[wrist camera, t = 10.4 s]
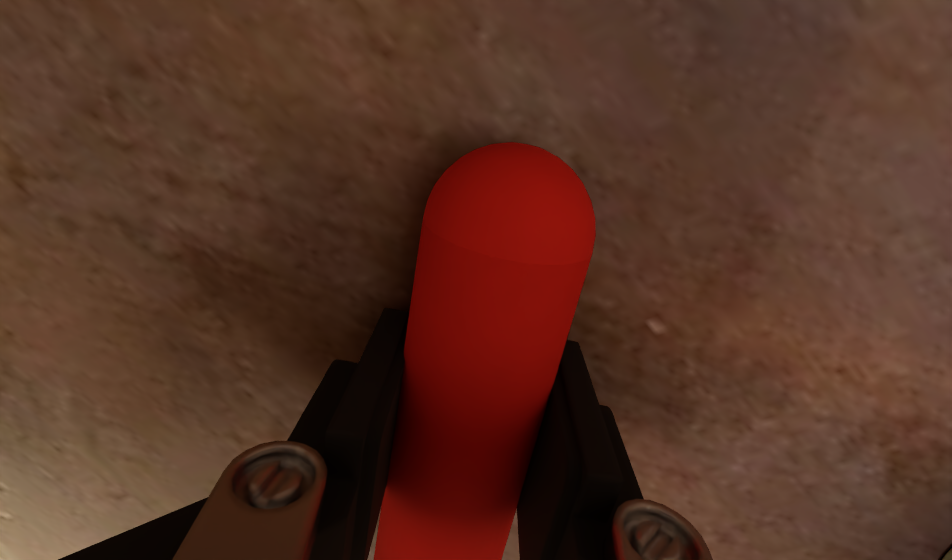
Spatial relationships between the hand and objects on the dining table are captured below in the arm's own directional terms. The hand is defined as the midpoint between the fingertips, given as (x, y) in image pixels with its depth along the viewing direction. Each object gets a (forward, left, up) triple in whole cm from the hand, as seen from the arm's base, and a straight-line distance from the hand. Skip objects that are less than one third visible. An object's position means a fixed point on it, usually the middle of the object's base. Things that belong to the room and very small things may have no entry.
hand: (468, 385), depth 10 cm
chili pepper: (0, 0, 0) cm, 0 cm away
